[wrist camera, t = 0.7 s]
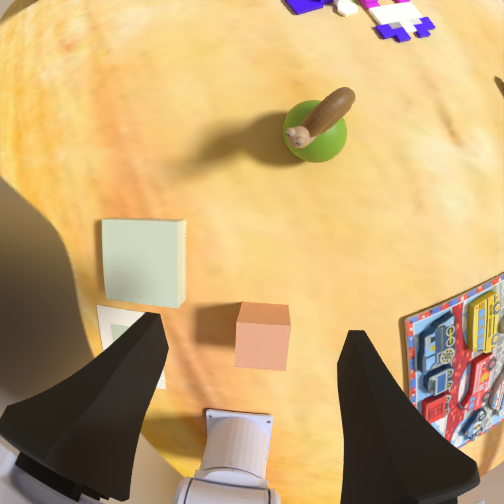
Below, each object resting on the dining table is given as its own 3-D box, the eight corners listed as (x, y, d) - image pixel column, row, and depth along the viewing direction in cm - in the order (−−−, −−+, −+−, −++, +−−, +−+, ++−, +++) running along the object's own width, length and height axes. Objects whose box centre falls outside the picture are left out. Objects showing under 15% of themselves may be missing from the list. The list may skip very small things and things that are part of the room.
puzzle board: (509, 410, 31) (516, 417, 28) (405, 466, 33) (409, 477, 31) (529, 254, 26) (541, 257, 23) (400, 315, 29) (409, 324, 26)
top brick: (283, 344, 29) (285, 370, 25) (240, 341, 30) (234, 367, 25) (288, 304, 29) (290, 325, 24) (242, 301, 29) (236, 322, 24)
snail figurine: (262, 144, 26) (254, 105, 14) (308, 99, 25) (331, 39, 13) (304, 185, 26) (329, 175, 15) (350, 139, 25) (401, 102, 14)
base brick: (186, 297, 30) (178, 308, 27) (119, 290, 30) (105, 298, 27) (187, 219, 28) (177, 221, 25) (116, 217, 29) (101, 219, 26)
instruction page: (165, 388, 32) (165, 390, 31) (109, 376, 32) (108, 377, 32) (159, 314, 30) (158, 315, 29) (97, 304, 30) (96, 305, 30)
